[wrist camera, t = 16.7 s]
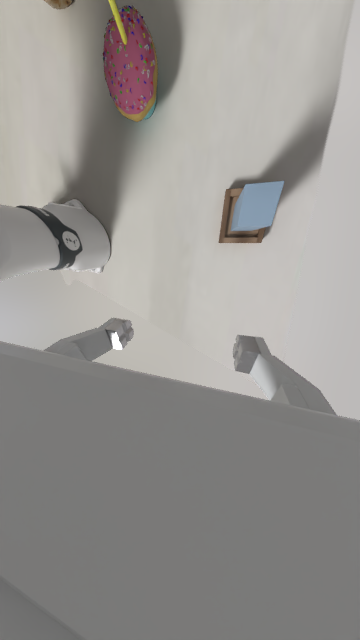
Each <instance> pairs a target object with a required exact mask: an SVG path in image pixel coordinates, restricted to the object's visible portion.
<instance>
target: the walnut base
mask: <svg viewBox="0 0 360 640" xmlns="http://www.w3.org/2000/svg"><path fill="white" fill-rule="evenodd" d="M242 190H243V188H237V189H226V192H225V200H224V207H223V215H222V222H221V230H220V237H219V243H261V242H262V239H263V235H264V232H265V228H266V227H264V228H260V229H256V230H253V231H231V225H232V219H233V213H234V207H235V204H236V202H237V200H238V198H239V196H240V194H241V192H242Z"/></svg>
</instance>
